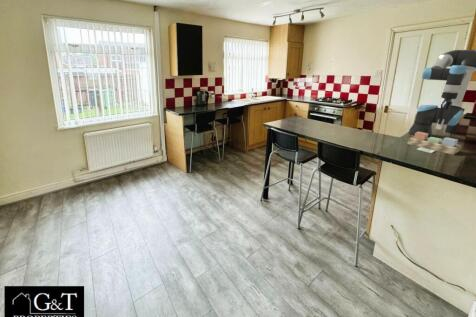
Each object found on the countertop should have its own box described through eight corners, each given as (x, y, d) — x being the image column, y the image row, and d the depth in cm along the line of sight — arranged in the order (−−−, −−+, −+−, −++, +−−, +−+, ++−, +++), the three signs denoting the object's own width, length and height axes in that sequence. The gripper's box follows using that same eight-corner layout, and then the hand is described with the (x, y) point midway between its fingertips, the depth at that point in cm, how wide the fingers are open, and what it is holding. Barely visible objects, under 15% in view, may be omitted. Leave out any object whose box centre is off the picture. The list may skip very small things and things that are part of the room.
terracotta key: (413, 139, 171) (415, 132, 169) (416, 138, 174) (418, 131, 173) (423, 141, 167) (425, 134, 165) (426, 140, 170) (428, 133, 168)
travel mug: (458, 133, 203) (467, 109, 196) (449, 133, 203) (457, 109, 196) (451, 131, 210) (459, 107, 203) (442, 130, 210) (450, 107, 203)
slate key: (441, 145, 159) (443, 138, 157) (444, 144, 163) (446, 137, 161) (452, 148, 155) (455, 140, 153) (455, 146, 158) (458, 139, 156)
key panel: (407, 143, 172) (408, 138, 170) (413, 141, 179) (415, 135, 177) (453, 154, 153) (455, 148, 151) (459, 151, 160) (461, 145, 158)
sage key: (425, 145, 166) (428, 138, 164) (429, 143, 169) (431, 136, 167) (436, 147, 161) (438, 140, 160) (439, 146, 165) (442, 138, 163)
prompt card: (416, 149, 160) (417, 148, 160) (420, 148, 164) (420, 146, 163) (431, 153, 154) (431, 151, 154) (434, 151, 158) (435, 150, 157)
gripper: (455, 93, 146) (441, 131, 155) (461, 91, 153) (448, 128, 162) (439, 91, 152) (428, 129, 160) (446, 90, 159) (435, 126, 168)
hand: (438, 128), depth 161 cm, fingers closed
